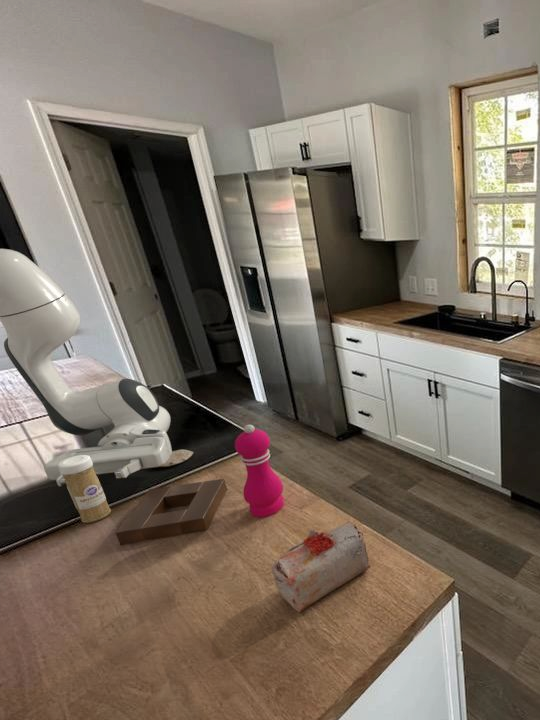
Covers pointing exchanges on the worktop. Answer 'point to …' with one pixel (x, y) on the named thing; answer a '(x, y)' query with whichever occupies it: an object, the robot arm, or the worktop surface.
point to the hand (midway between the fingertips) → (91, 479)
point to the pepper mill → (259, 473)
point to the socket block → (157, 524)
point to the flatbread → (177, 457)
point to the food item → (320, 565)
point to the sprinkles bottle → (84, 488)
